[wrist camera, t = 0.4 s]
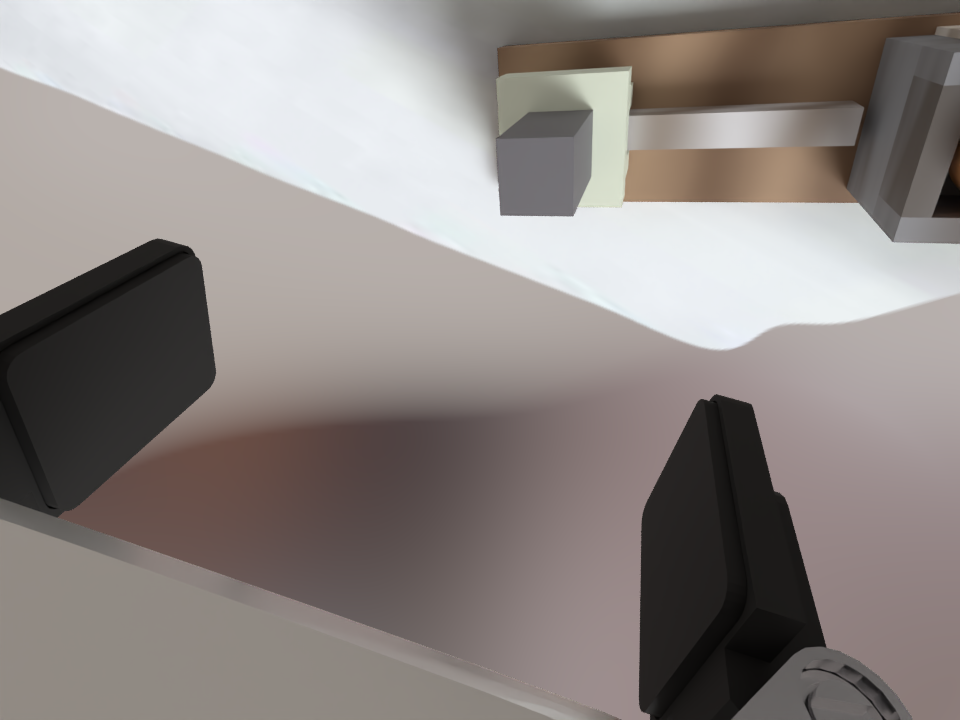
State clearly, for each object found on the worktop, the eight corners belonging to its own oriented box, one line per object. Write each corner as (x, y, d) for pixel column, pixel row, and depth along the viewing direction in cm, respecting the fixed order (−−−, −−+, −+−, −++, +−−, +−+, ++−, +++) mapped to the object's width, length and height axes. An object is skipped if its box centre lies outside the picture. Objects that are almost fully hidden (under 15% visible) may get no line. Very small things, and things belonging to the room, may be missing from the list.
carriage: (634, 61, 28) (617, 90, 20) (627, 185, 31) (610, 253, 23) (515, 69, 29) (454, 98, 21) (520, 185, 32) (469, 248, 24)
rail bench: (1070, 3, 24) (1244, 9, 16) (993, 194, 28) (1105, 265, 21) (504, 46, 30) (451, 62, 23) (511, 193, 35) (468, 246, 27)
